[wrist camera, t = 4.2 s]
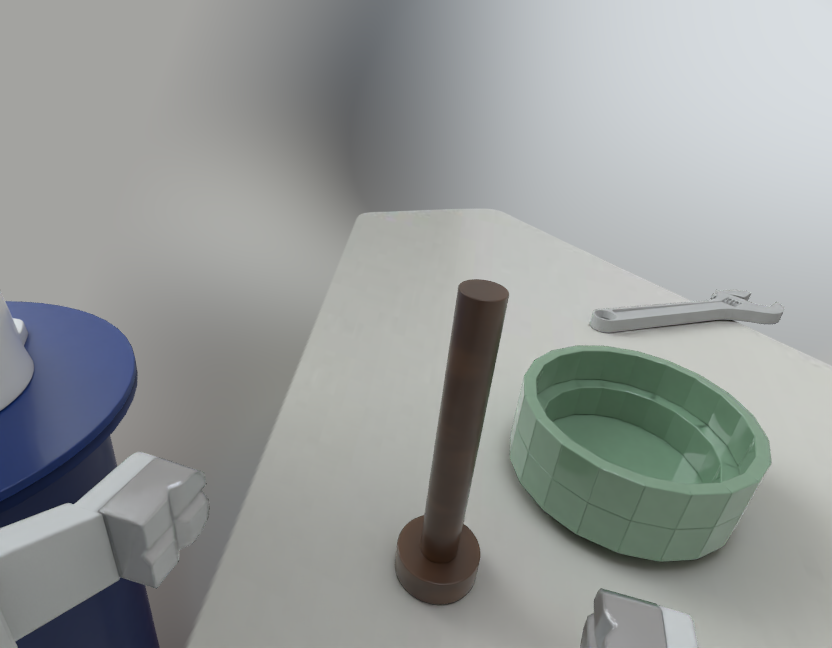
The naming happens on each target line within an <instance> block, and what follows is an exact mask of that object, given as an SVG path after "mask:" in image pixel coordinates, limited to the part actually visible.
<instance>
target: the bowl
mask: <svg viewBox="0 0 832 648" xmlns="http://www.w3.org/2000/svg"><path fill="white" fill-rule="evenodd" d="M510 460H511V462H512V465H513V467H514V469H515V472H516V474H517V477H518V479H519V481H520V483H521V484H522V486H523V487H524V488H525V489H526V490H527V492H528V493H529V494H530V495H531V496H532V497H533V499H534V500H535V501H536V502H537V503H538V505H539V506H540V507H541V508H542V509H543V511H545V512H546V513H547V514H549V515H550V516H552V517H553V518H554V519H556V520H557V521H558V522H560V523H561V524H562V525H564V526H565V527H566V528H568V529H569V530H571V531H572V532H573V533H575V534H577V535H579V536H581V537H583V538H585V539H588V540H590V541H592V542H594V543H596V544H599V545H601V546H603V547H605V548H608V549H610V550H612V551H614V552H617V553H619V554H624V555H629V556H634V557H639V558H643V559H648V560H653V561H658V562H659V561H660V562H665V561H680V560H695V559H699V558H701V557H703V556H705V555H707V554H709V553H711V552H713V551H715V550H717V549H719V548H721V547H723V546H724V545H725V544H726V542H727V541H728V539H729V538H730V536H731V534H732V533H733V531H734V530H735V528H736V526H737V525H738V523H739V521H740V519H741V517H742V516H743V514H744V512H745V510H746V508H747V507H748V505H749V503H750V501H751V500H752V498H753V496H754V494H755V492H756V491H757V489H758V487H759V485H760V483H761V482H762V480H763V478H764V476H765V475H766V473H767V471H768V469H769V467H770V466H771V463H772V462H771V453H770V445H769V440H768V437H767V436H766V434H765V433H764V431H763V430H762V428H761V426H760V425H759V423H758V422H757V420H756V418H755V417H754V416H753V415H752V414H751V413H750V412H749V411H748V410H747V409H746V408H745V407H744V406H743V405H742V404H740V403H739V402H738V401H737V400H736V399H735V398H734V397H733V396H732V395H730V394H729V393H728V392H726V391H725V390H723V389H721V388H720V387H718V386H717V385H715V384H714V383H712V382H710V381H709V380H707V379H706V378H704V377H703V376H701V375H699V374H697V373H695V372H692V371H690V370H688V369H686V368H684V367H681V366H679V365H677V364H675V363H673V362H670V361H668V360H665V359H661V358H658V357H655V356H652V355H648V354H645V353H642V352H639V351H633V350H627V349H621V348H615V347H609V346H572V347H567V348H562V349H557V350H552V351H550V352H548V353H546V354H545V355H543V356H541V357H539V358H537V359H536V360H534V362H533V363H532V365H531V366H530V368H529V369H528V371H527V372H526V374H525V375H524V378H523V383H522V387H521V391H520V395H519V400H518V404H517V408H516V413H515V417H514V421H513V425H512V430H511V434H510Z"/></svg>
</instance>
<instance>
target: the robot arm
mask: <svg viewBox="0 0 832 648" xmlns="http://www.w3.org/2000/svg"><path fill="white" fill-rule="evenodd" d="M27 336H28V331H27V329H26V327H25V324H24V322H23V321H22V320H20V319H15V318H12V316H11V314H10V311H9V309H8V307H7V305H6V302H5V300H4V298H3V296H2V293H1V291H0V411H1V410H2V409H4V408H5V407H6V406H8V405H9V404H10V403H11V402H12V401H14V400H15V399H16V398H17V397H18V396H19V395H20V394H21V393H22V392H23V390H24V389H25V388H26V387H27V385H28V384H29V382H30V380H31V378H32V376H33V372H34V364H33V360H32V358H31V357H30V355H29V354H28V352H27V351H26V349H25V347H24V344H25V342H26V339H27ZM206 484H207V483H206V478H205V473H204V472H202V471H199V470H196V469H193V468H190V467H187V466H184V465H181V464H178V463H175V462H172V461H169V460H166V459H163V458H160V457H157V456H153V455H150V454H147V453H143V452H137V453H135V454H132V455H130V456H129V457H128V458H127V459H126V460H124V461H123V462H122V463H121V464H120V465H119V466H118V467H116V468H115V469H114V470H113V471H112V472H111V473H109V474H108V475H107V476H106V477H105V478H104V479H103V480H101V481H100V482H99V483H98V484H97V485H96V486H95V487H93V488H92V489H91V490H90V491H89V492H88V493H87V494H85V495H84V496H83V497H82V498H81V499H80V500H79V501H77V502H76V503H75V504H71V503H66V504H63V505H61V506H58V507H55V508H53V509H50V510H47V511H45V512H42V513H40V514H37V515H34V516H32V517H29V518H26V519H24V520H21V521H18V522H16V523H13V524H10V525H8V526H5V527H2V528H0V648H18V647H17V645H16V642H15V641H17V640H19V639H20V638H22V637H24V636H25V635H27V634H29V633H30V632H32V631H34V630H35V629H37V628H39V627H41V626H42V625H44V624H46V623H47V622H49V621H51V620H52V619H54V618H56V617H57V616H59V615H61V614H62V613H64V612H66V611H67V610H69V609H71V608H73V607H74V606H76V605H78V604H79V603H81V602H83V601H84V600H86V599H88V598H89V597H91V596H93V595H94V594H96V593H98V592H100V591H101V590H103V589H105V588H106V587H108V586H110V585H111V584H113V583H115V582H116V581H118V580H119V579H120V578H119V577H121V578H125V579H128V580H131V581H134V582H137V583H140V584H144V585H147V586H150V587H153V588H156V589H157V588H158V586H159V585H160V584H161V583H162V582H163V580H164V579H165V578H166V577H167V575H168V574H169V573H170V572H171V570H172V569H173V568H174V567H175V565H176V564H177V563H178V562H179V550H181V549H183V548H185V547H187V546H189V545H191V544H193V543H194V542H195V540H196V539H197V537H198V536H199V535H200V534H201V532H202V530H203V528H204V526H205V524H206V522H207V519H208V515H209V509H210V508H209V499H208V498H207V497H206V495H205V494H204V492H203V491H202V489H203V488H204V486H205V485H206ZM580 648H699V647H698V642H697V637H696V632H695V627H694V622H693V620H692V618H691V616H690V615H689V614H687V613H683V612H680V611H677V610H673V609H670V608H666V607H663V606H660V605H657V604H655V603H651V602H648V601H644V600H641V599H637V598H634V597H630V596H627V595H623V594H619V593H616V592H612V591H609V590H605V589H602V588H601V589H600V590H599V591H598V592H597V594H596V597H595V599H594V613H593V614H591V615H589V616H588V617H587V620H586V623H585V625H584V629H583V634H582V639H581V645H580Z"/></svg>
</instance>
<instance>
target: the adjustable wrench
mask: <svg viewBox="0 0 832 648" xmlns="http://www.w3.org/2000/svg"><path fill="white" fill-rule="evenodd" d="M750 295H751V293H750V292H747V291H741V290H723V291H719V290H716V292H715V294H712V296H711V300H707V301H694V302H681V303H669V304H656V305H644V306H631V307H618V308H606V309H596V310H594V311H593V314H592V317H591V321H590V326H591V327H592V328H594V329H595V330H598V331H601V332H618V331H626V330H635V329H643V328H651V327H660V326H668V325H677V324H685V323H693V322H702V321H710V320H721V319H725V320H738V321H747V322H754V323H761V324H776V323H778V322H779V320H780V318H781V316H782V314H783V312H784V307H783V306H782V305H781V304H780V303H778V302H775V303H774V304H773V305H771V306H764V305H759V304H755V303H752V302H749V301H748V299H749V297H750Z"/></svg>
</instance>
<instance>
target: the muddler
mask: <svg viewBox="0 0 832 648" xmlns="http://www.w3.org/2000/svg"><path fill="white" fill-rule="evenodd" d="M508 298H509V292H508V290H507V289H506V288H505V287H503V286H502V285H500V284H497V283H495V282H491V281H487V280H478V279H474V280H467V281H464V282H462V283H460V285H459V286H458V293H457V299H456V306H455V313H454V320H453V326H452V333H451V340H450V346H449V353H448V360H447V367H446V373H445V380H444V387H443V394H442V400H441V407H440V414H439V421H438V427H437V434H436V441H435V447H434V454H433V461H432V468H431V474H430V481H429V488H428V495H427V501H426V508H425V515H423V516H420V517H417V518H415V519H413V520H412V521H410V522H409V523H408V524H407V525H406V526H405V527H404V528H403V529H402V531H401V533H400V535H399V538H398V542H397V551H396V559H395V569H396V574H397V577H398V579H399V581H400V583H401V584H402V586H403V587H404V588H405V590H406V591H407V592H408V593H409V594H411V595H412V596H413V597H415V598H417V599H419V600H421V601H423V602H426V603H430V604H439V605H442V604H449V603H453V602H455V601H458V600H459V599H461V598H463V597H464V596H465V595H466V594H467V593H468V592H469V591H470V590H471V588H472V586H473V584H474V582H475V578H476V574H477V570H478V565H479V561H480V547H479V544H478V541H477V539H476V537H475V536H474V534H473V533H472V531H471V530H470V529H469V528H468V527H467V526H466V525H464V524H463V522H464V517H465V512H466V507H467V502H468V497H469V492H470V487H471V482H472V477H473V472H474V467H475V462H476V457H477V452H478V447H479V442H480V437H481V432H482V427H483V422H484V417H485V412H486V407H487V402H488V397H489V392H490V387H491V382H492V377H493V373H494V368H495V363H496V358H497V353H498V348H499V343H500V338H501V333H502V328H503V323H504V318H505V313H506V308H507V303H508Z"/></svg>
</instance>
